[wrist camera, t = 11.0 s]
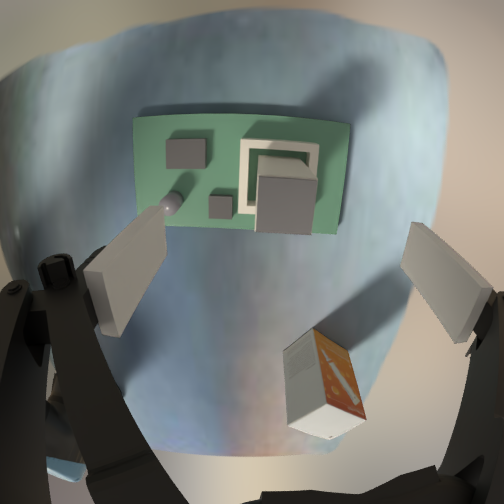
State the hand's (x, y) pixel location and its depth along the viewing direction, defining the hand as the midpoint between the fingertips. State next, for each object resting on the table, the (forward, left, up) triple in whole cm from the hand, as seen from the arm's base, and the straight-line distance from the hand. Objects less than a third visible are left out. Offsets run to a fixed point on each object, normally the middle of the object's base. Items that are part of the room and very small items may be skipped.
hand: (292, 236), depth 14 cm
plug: (0, 0, -16) cm, 16 cm away
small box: (+8, -25, -17) cm, 31 cm away
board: (-4, 0, -17) cm, 17 cm away
